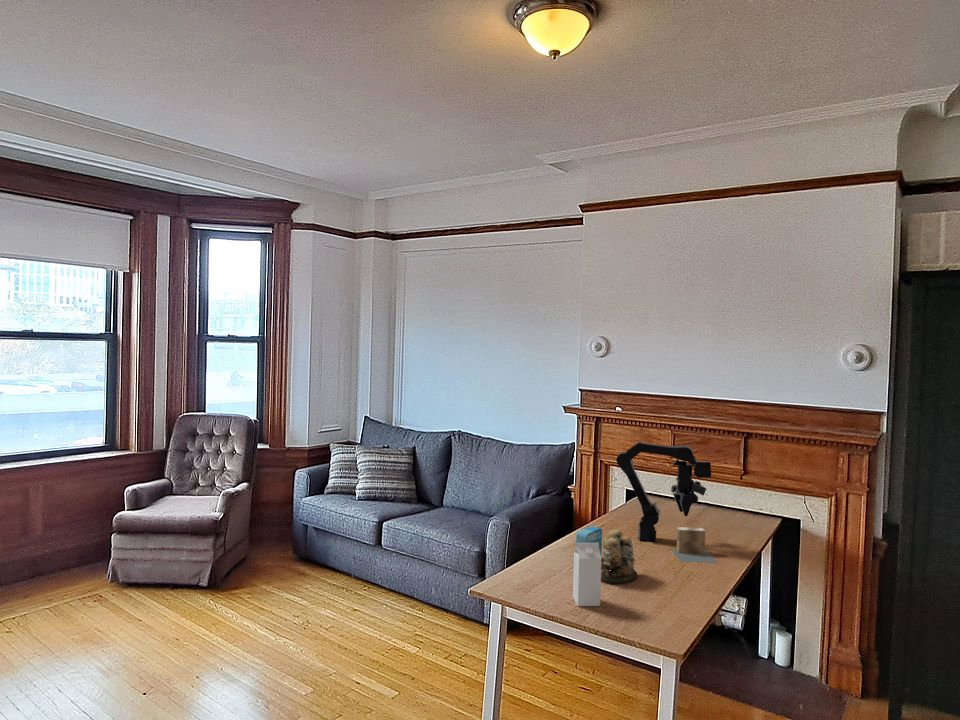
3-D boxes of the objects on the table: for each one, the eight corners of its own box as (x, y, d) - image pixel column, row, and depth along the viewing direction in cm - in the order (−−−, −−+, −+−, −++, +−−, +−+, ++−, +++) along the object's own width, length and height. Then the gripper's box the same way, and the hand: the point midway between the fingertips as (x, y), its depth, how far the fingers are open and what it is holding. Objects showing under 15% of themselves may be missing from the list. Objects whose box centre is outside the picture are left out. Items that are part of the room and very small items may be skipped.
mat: (680, 563, 244) (680, 561, 244) (670, 550, 259) (670, 549, 259) (718, 564, 243) (718, 562, 243) (705, 551, 258) (705, 550, 258)
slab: (678, 553, 254) (679, 529, 254) (676, 550, 257) (677, 527, 257) (704, 553, 254) (705, 530, 253) (701, 551, 257) (702, 528, 257)
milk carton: (572, 597, 208) (574, 539, 207) (594, 597, 208) (595, 539, 208) (577, 606, 200) (579, 546, 200) (600, 606, 201) (601, 546, 201)
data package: (585, 566, 238) (586, 534, 238) (575, 563, 241) (576, 531, 241) (601, 558, 247) (602, 527, 247) (591, 555, 250) (592, 525, 250)
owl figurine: (620, 589, 216) (621, 539, 216) (590, 581, 224) (590, 532, 223) (644, 575, 230) (645, 527, 230) (614, 567, 237) (615, 521, 237)
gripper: (711, 481, 256) (710, 520, 257) (697, 472, 275) (696, 508, 275) (683, 481, 257) (682, 519, 257) (671, 471, 275) (670, 508, 276)
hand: (683, 513), depth 266 cm, fingers open, 7 cm apart
